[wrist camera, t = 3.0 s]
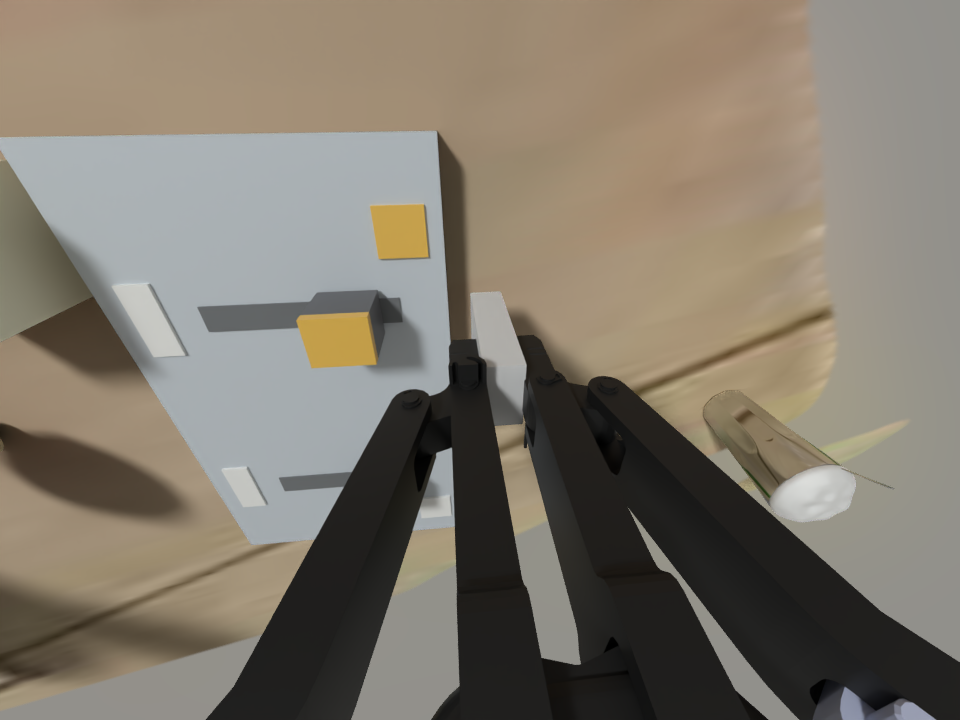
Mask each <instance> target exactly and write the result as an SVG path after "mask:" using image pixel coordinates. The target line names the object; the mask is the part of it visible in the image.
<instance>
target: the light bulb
mask: <svg viewBox="0 0 960 720" xmlns="http://www.w3.org/2000/svg"><path fill="white" fill-rule="evenodd" d="M3 448H4V444H3V442H2V440H1V438H0V452H1V451H2V450H3Z"/></svg>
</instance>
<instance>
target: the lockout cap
mask: <svg viewBox="0 0 960 720" xmlns="http://www.w3.org/2000/svg"><path fill="white" fill-rule="evenodd" d="M91 297H93V295H92V293H91V292H90V290H89V289H88V287H87V285H86V284H85V282H84V281H83V279H82V278H81V276H80V274H79V273H78V271H77V270H76V268H75V267H74V265H73V263H72V262H71V260H70V259H69V257H68V256H67V254H66V252H65V251H64V249H63V248H62V246H61V245H60V243H59V241H58V240H57V238H56V237H55V235H54V234H53V232H52V230H51V229H50V227H49V226H48V224H47V223H46V221H45V219H44V218H43V216H42V215H41V213H40V212H39V210H38V208H37V207H36V205H35V204H34V202H33V200H32V199H31V197H30V196H29V194H28V193H27V191H26V189H25V188H24V186H23V185H22V183H21V182H20V180H19V178H18V177H17V175H16V174H15V172H14V171H13V169H12V167H11V166H10V164H9V163H8V161H7V160H0V342H2V341H4V340H6V339H8V338H10V337H12V336H14V335H16V334H18V333H20V332H22V331H24V330H26V329H28V328H30V327H32V326H34V325H36V324H38V323H40V322H42V321H44V320H46V319H48V318H50V317H52V316H54V315H56V314H59V313H61V312H63V311H65V310H67V309H69V308H71V307H73V306H75V305H77V304H79V303H81V302H83V301H85V300H87V299H89V298H91Z"/></svg>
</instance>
